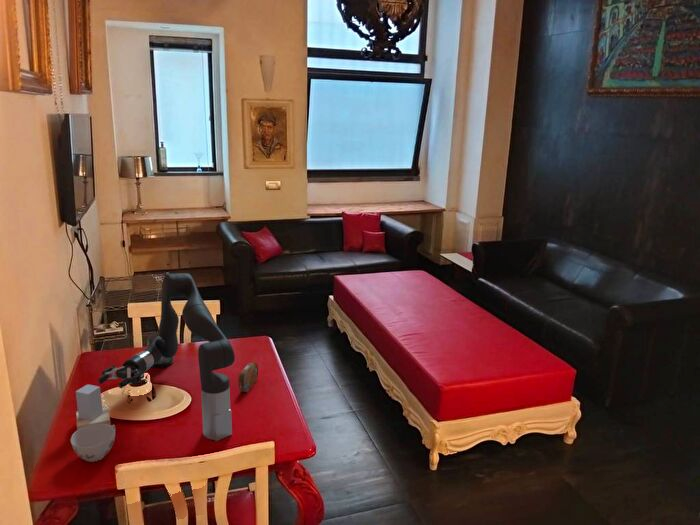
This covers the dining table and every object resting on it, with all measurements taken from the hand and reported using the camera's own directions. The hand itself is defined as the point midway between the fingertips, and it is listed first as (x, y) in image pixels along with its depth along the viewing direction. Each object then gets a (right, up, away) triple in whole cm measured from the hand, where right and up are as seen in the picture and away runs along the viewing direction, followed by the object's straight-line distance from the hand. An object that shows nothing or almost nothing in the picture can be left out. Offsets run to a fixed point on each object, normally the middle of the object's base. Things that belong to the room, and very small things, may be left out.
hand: (109, 383), depth 189 cm
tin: (+44, -7, +26) cm, 51 cm away
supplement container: (+3, -1, +42) cm, 42 cm away
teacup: (+5, -18, -19) cm, 27 cm away
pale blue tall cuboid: (-3, -9, -7) cm, 12 cm away
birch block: (-3, -14, -6) cm, 15 cm away
